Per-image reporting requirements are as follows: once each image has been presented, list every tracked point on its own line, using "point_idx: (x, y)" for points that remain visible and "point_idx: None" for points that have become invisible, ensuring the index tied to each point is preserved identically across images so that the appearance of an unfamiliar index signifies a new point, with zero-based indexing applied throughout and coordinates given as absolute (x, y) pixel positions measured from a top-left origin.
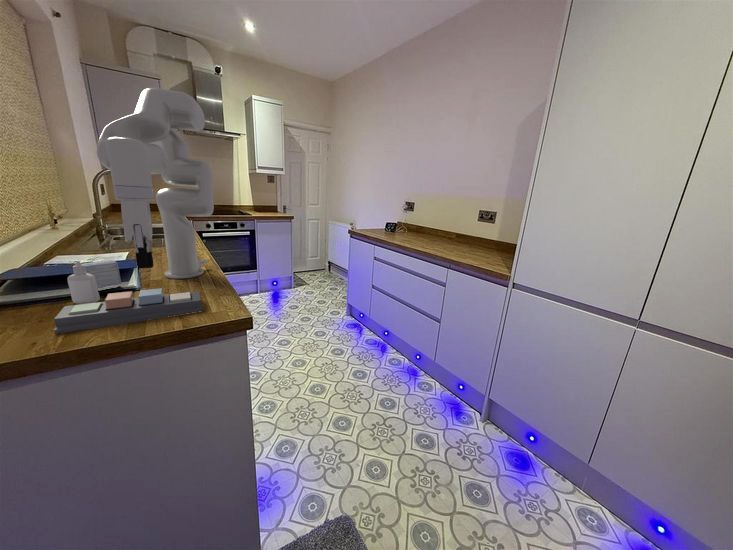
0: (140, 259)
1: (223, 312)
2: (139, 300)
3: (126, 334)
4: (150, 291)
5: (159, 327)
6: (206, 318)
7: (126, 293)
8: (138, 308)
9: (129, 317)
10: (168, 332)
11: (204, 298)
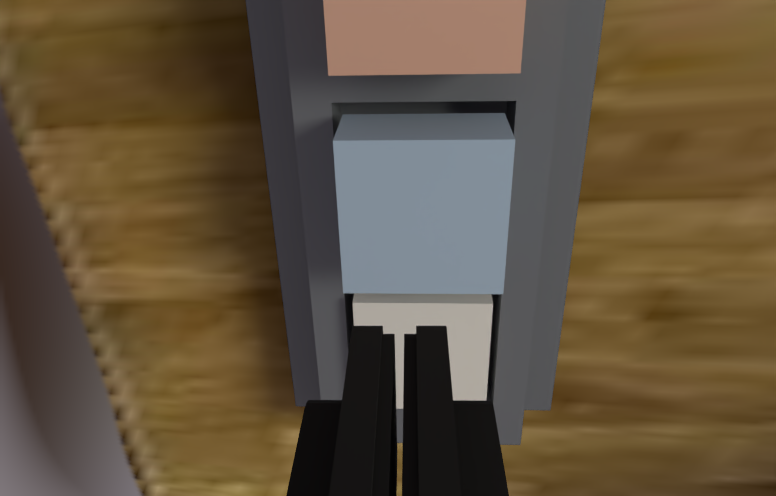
0: (297, 467)
1: (261, 468)
2: (337, 130)
3: (67, 25)
4: (445, 220)
5: (134, 195)
6: (202, 399)
7: (470, 29)
8: (293, 105)
9: (282, 25)
10: (55, 239)
11: (535, 415)
